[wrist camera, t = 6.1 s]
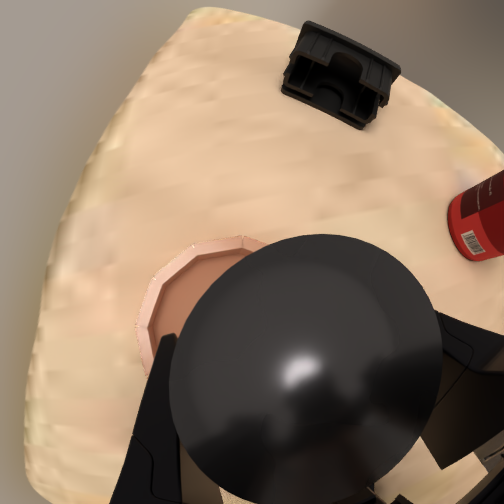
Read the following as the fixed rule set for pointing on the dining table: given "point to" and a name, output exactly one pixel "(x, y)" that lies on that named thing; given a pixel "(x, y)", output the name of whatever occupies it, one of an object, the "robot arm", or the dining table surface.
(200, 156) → the dining table surface
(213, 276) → the terracotta dish
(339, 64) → the end cap
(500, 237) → the canned food
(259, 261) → the pepper mill
